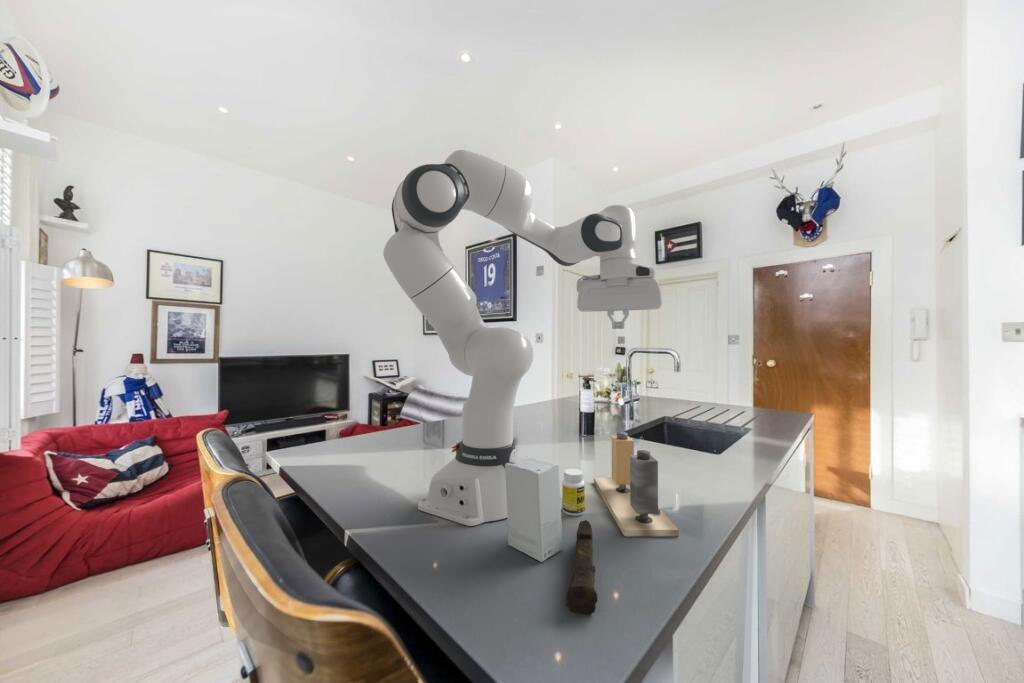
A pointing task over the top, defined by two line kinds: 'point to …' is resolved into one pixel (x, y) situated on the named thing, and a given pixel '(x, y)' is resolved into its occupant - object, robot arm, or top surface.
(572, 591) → the hand tool
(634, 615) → the top surface
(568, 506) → the supplement bottle
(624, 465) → the block
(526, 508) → the skincare box
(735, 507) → the top surface
